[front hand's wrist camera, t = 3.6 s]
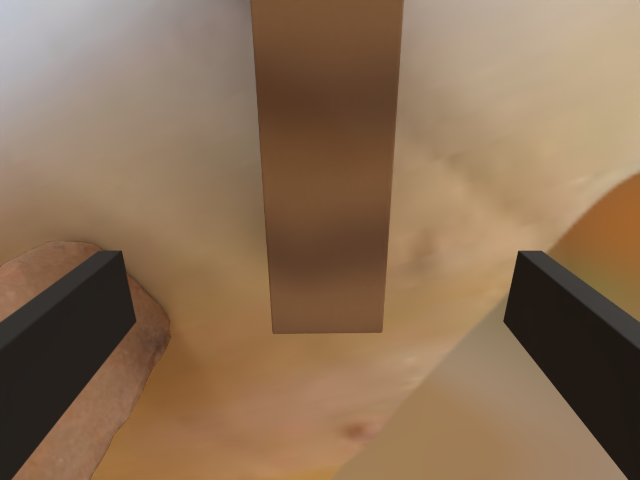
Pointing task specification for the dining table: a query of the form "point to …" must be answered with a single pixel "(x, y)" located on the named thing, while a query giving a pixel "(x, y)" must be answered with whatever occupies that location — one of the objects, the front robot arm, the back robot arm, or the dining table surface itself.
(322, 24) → the box
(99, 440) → the stone
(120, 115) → the dining table surface
